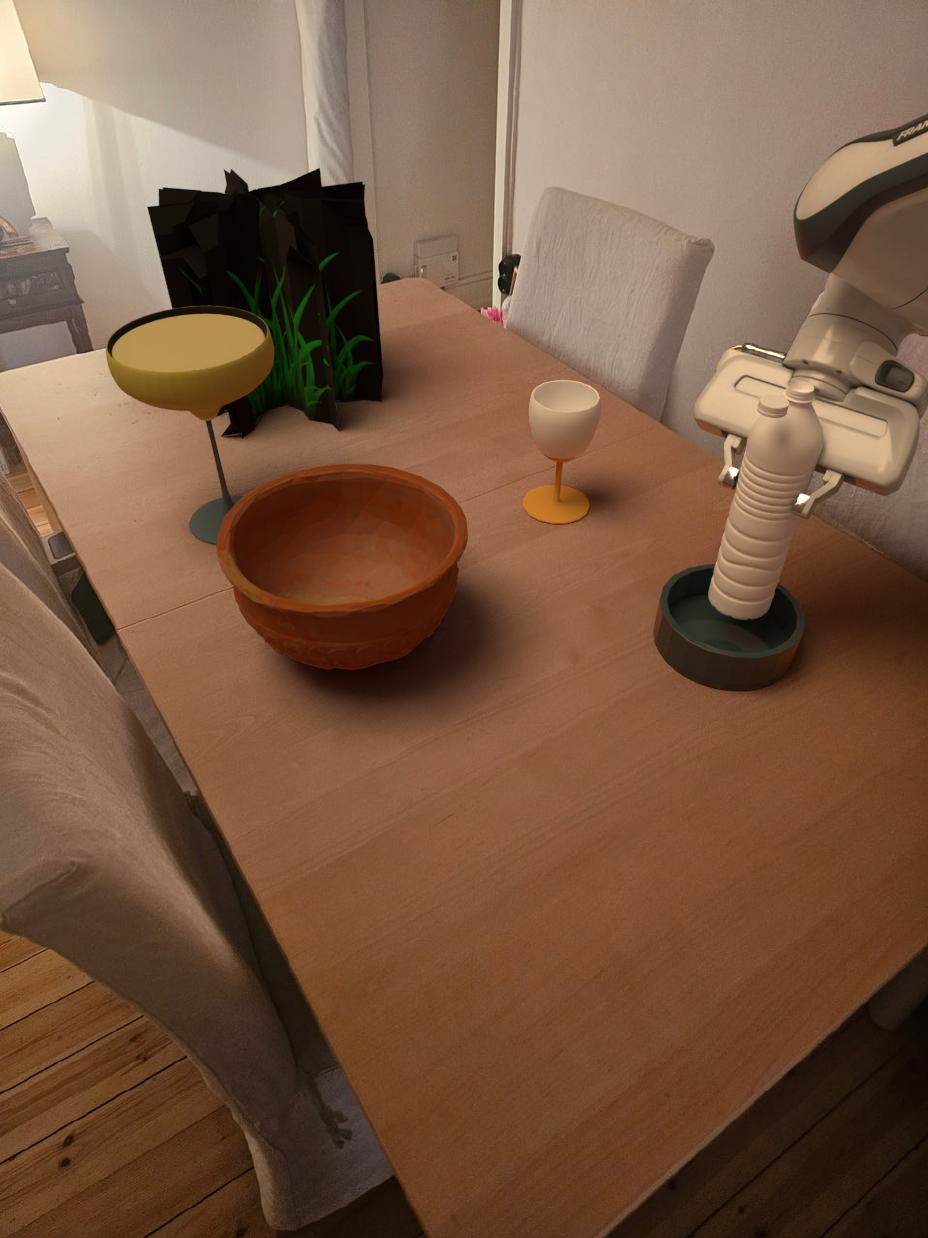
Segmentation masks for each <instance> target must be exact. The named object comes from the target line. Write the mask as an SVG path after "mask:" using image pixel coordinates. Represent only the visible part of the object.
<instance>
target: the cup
mask: <svg viewBox="0 0 928 1238" xmlns="http://www.w3.org/2000/svg"><path fill="white" fill-rule="evenodd" d="M601 403H602V401H601V396H600V393H599V391H598V390H596V389H595V388H594V387H593V386H591V385H589V384H586V383H583V382H581V381H576V380H570V379H555V380H549V381H545V382H543V383H541V384H539V385H537V386H535V388H533V391H532V392H531V394H530V399H529V402H528V422H529V428H530V432H531V436H532V440H533V442H534V445H535V447H536V449H537V450H538V451H539V452H540V453H541V454H542V455H544V456H545V457H546V458H547V459H548V460H550V461H553V462H555V463H556V464H555V466H556V467H555V474H554V484H544V485H542V486H537V487H533V488H532V489H531V490H529V491H528V492H527V493H525V495H524V497H523V499H522V501H521V502H522V508H523V510H524V511H525V512H526V513H527V515H528V516H530V517H531V518H533V519H535V520H537V521H538V522H541V523H547V524H551V525H567V524H571V523H575V522H578V521H580V520H581V519H582V518H584V517H585V516H586V515H587V514H588V512H589V510H590V507H591V506H590V502H589V499H588V498H587V497H586V496H585V495H584V493H582V492H581V491H580V490H578V489H575V488H574V487H571V486H566V485H562V476H563V466H564V465H563V464H564V463H567V462H570V461H573V460H574V459H576V458H578V457H580V456H581V455H583V454H584V453H585V452H586V450H587V449H588V448H589V446H590V445H591V443H592V441H593V439H594V436H595V434H596V432H597V430H598V427H599V423H600V418H601V413H602V405H601Z"/></svg>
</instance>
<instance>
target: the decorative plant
mask: <svg viewBox="0 0 928 1238" xmlns="http://www.w3.org/2000/svg"><path fill="white" fill-rule="evenodd" d="M223 172H224V178H225V189H224V192H220V191H207V190H206V191H205V190H200V189H190V188H177V187H167V186H165V187H164V186H162V188H158V205H150V206H147V207H146V208H147V211H148V217H149V221H150V224H151V227H152V228H151V229H152V232H153V236H154V240H155V243H156V249H157V251H158V257H159V261H160V265H161V269H162V273H163V276H164V280H165V285H166V289H167V293H168V297H169V301H170V305H171V309H174V308H182V307H191V306H223V307H230V308H236V309H240V310H244V311H247V312H250V313H252V314H254V315H256V316H258V317H259V318H261V319H262V320H263V321H264V322H265V323H266V325H267V326H268V328H269V330H270V333H271V337H272V340H273V345H274V363H273V366H272V368H271V371H270V373H269V374H268V375H267V377H266V378H265V379H264V380H263V382H262V383H261V384H259V385H258V386H257V387H256V388H255V389H254V390H253V391H251V392H250V393H248V394H247V395H245V396H243V397H242V398H239V399H237V400H235V401H233V402H231V403H229V404H226V405H223V406H222V407H221V408H220V410H219V412H218V414H217V415H216V416H221V415H222V414H223V413H225V412H227V413H228V417H229V422H230V423H229V424H228V426H227V427H226V428H225V430H224V431H223V433H222V434H221V435H220V437H226V436H234V435H241V439H242V440H243V439H244V438H246V437H247V436H249V434H252V433H253V432H254V431H255V429H256V426H257V423H258V421H259V420H258V419H260V418H261V417H263V416H264V415H265V414H266V413H268V412H269V411H271V410H274V409H277V408H280V407H283V406H286V405H287V406H289V407H292V408H293V409H297V410H299V411H301V412H303V414H304V415H305V417H306V418H307V419H308V420H309V421H313V422H314V421H315V422H320V423H324V424H330V425H332V426H333V427H334V429H336V430H337V431H338V432H339V431H340V430H339V429H340V428H339V422H338V410H337V409H338V407H337V402H339V403H345V402H346V403H347V402H356V401H362V400H363V401H373V402H380V403H381V402H382V392H383V391H382V390H383V383H384V367H383V354H382V353H383V352H382V340H381V339H382V338H381V326H380V325H381V324H380V313H379V300H378V299H379V298H378V287H377V286H378V285H377V272H376V259H375V245H374V243H375V242H374V238H373V236H372V235H373V234H372V233H371V231H370V229H369V222H368V218H367V215H366V213H367V212H366V201H365V196H366V195H365V194H366V193H365V192H366V184H363V183H364V182H363V180H361V181H354V182H348V183H339V184H332V185H331V184H330V185H323V182H322V173H321V168H320V167H318V168H316V169H314V170H311V171H309V172H307V173H304V174H302V175H300V176H298V177H296V178H294V179H291V180H289V181H286V182H283V183H281V184H276V185H270V186H264V187H258V188H257V189H256V188H254V189H251V190H250V189H249V184H248V183H247V182H246V180H245V179H243V178H242V177H241V176H240V174H238V173H236V172H235V170H234V169H233V168H231V169H230V172H229V171H227V170H226V169H223Z"/></svg>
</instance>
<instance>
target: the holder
mask: <svg viewBox="0 0 928 1238" xmlns="http://www.w3.org/2000/svg"><path fill="white" fill-rule="evenodd" d="M715 564H716V563H706V564H700V565H695V566H691V567H687V568H685V569H683V570H681V571H679V572H677V573H675V574H673V575H672V576H671V577H670V578H669V580H667V581H666V582H665V584H664V585H663V587H662V588H661V593H660V596H659V600H658V606H657V610H656V614H655V618H654V619H655V620H654V623H653V641H654V643H655V647H656V649H657V651H658V653H659V654H660V656H661V657H662V658H663V660H664V661H665V662H666V663H667V664H668V665H669V666H670V667H671V668H672V669H673V670H675V671H676V672H677V673H678V674H680V675H682V676H683V677H685V678H687V679H689V680H691V681H692V682H695V683H697V684H700V685H702V686H706V687H709V688H713V689H716V690H722V691H732V692H733V691H734V692H742V691H745V692H746V691H752V690H758V689H761V688H765V687H767V686H769V685H772V684H773V683H775V682H778V680H780V679H781V678H782V677H783V676H784V675H785V674H786V672H787V671H788V669H789V668H790V666H791V663H792V662H793V659H794V658H795V655H796V653H797V650H798V647H799V645H800V642H801V639H802V637H803V635H804V632H805V622H806V616H805V614H804V610H803V609H802V607H801V604H800V602H799V600H797V598H796V597H795V596H794V595H793V594H792V593H791V591H789V590H788V588H787V587H785V586H784V585H782V584H781V583H779V582H778V584H777V587H776V589H775V594H774V597H773V599H772V602H771V605H770V608H769V610H768V611H767V612H766V613H765V614H764V615H763V616H761V617H759V618H756V619H750V618H749V619H747V620H741V619H735V618H732V617H731V616H726V615H724V614H722V613H720V612H719V611H717V610H716V608H715V607H713V606H712V604H711V603H710V601H709V597H708V592H709V588H710V584H711V579H712V577H713V574H714V568H715Z"/></svg>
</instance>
